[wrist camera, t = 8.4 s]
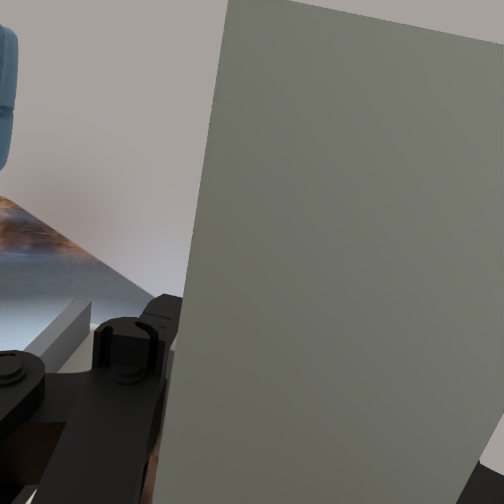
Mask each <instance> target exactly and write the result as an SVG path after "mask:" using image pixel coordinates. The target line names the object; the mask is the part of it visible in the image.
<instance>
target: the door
mask: <svg viewBox="0 0 504 504" xmlns="http://www.w3.org/2000/svg"><path fill="white" fill-rule="evenodd" d="M503 413H504V45H503V44H498V43H493V42H488V41H483V40H478V39H473V38H468V37H464V36H459V35H454V34H449V33H444V32H440V31H435V30H429V29H425V28H420V27H415V26H410V25H406V24H400V23H396V22H391V21H386V20H381V19H377V18H372V17H366V16H362V15H357V14H352V13H347V12H343V11H337V10H333V9H328V8H323V7H318V6H313V5H308V4H304V3H299V2H294V1H289V0H228V5H227V12H226V19H225V25H224V32H223V38H222V44H221V52H220V58H219V64H218V71H217V78H216V84H215V91H214V97H213V104H212V110H211V117H210V123H209V130H208V137H207V143H206V150H205V157H204V163H203V169H202V176H201V182H200V189H199V196H198V203H197V209H196V216H195V222H194V228H193V235H192V242H191V248H190V255H189V261H188V268H187V274H186V281H185V288H184V295H183V301H182V307H181V314H180V320H179V327H178V333H177V340H176V347H175V353H174V360H173V366H172V373H171V379H170V386H169V393H168V399H167V406H166V412H165V419H164V425H163V432H162V439H161V445H160V452H159V458H158V465H157V471H156V478H155V485H154V491H153V498H152V504H456V502H457V500H458V498H459V496H460V494H461V492H462V490H463V489H464V487H465V485H466V483H467V481H468V479H469V477H470V475H471V473H472V472H473V470H474V468H475V466H476V464H477V462H478V460H479V458H480V456H481V454H482V453H483V451H484V449H485V447H486V445H487V443H488V441H489V439H490V437H491V435H492V434H493V432H494V430H495V428H496V426H497V424H498V422H499V420H500V418H501V416H502V415H503Z"/></svg>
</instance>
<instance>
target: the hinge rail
mask: <svg viewBox="0 0 504 504" xmlns="http://www.w3.org/2000/svg"><path fill="white" fill-rule="evenodd" d="M91 302H92V301H87V300H83V299H78V298H76V299H75V300H74V301H73V302H72V303H71V304H70V305H69V306H68V307H67V308H66V309H65V310H64V311H63V312H62V313H61V314H60V315H59V316H58V317H57V318H56V319H55V320H54V321H53V322H52V323H51V324H50V325H49V326H48V327H47V328H46V329H45V330H44V331H43V332H42V333H41V334H40V335H39V336H38V337H37V338H36V339H34V340H33V341H32V342H31V343H30V344H29V345H28V346H27V347H26V348H25V349H24V350H23V351H25V352H30V353H32V354H34V355H36V356H38V357H40V359H41V360H42V361H43V363H44V364H45V373H77V372H84V371H88V370H91V367H92V352H93V337H94V331H95V330H96V328H97V327H98V326H99V324H94V323H90V318H91ZM36 490H37V489H36ZM35 492H36V491H35ZM35 492H34V493H33V495H32V496H31V497H30V498H29V500H28V501H27V502H26V504H30V503H31V501H32V498H33V496H34V494H35Z"/></svg>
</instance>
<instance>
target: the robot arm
mask: <svg viewBox="0 0 504 504" xmlns="http://www.w3.org/2000/svg"><path fill="white" fill-rule="evenodd" d="M17 71H18V39H17V36H16V34H15V33H14V32H13V31H12V30H11V29H9V28H6V27H4V26H2V25H1V24H0V171H1V170H2V169H3V167H4V166H5V164H6V162H7V158H8V153H9V149H10V142H11V134H12V127H13V110H14V104H15V97H16V87H17ZM182 301H183V298H181V297H177V296H172V295H168V294H162V295H161V296H158V297H157V298H155V299H153V300H151V301H150V302H149V303H148V305H147V306H146V308H145V309H144V311H143V313H142V314H141V315H140V317H139V318H138V317H120V318H115V319H110V320H108V321H106V322H104V323H102V324H100V325H99V326H98V327H97V328H96V330H95V331H94V337H93V352H92V367H91V370H88V371H84V372H77V373H45V364H44V363H43V361H42V360H41V359H40V357H38V356H36V355H34V354H32V353H30V352H25V351H18V350H9V351H0V504H26V502H27V501H28V500H29V498H30V497H31V496H32V495H33V493H34V492H35V491H36V492H35V494H34V496H33V498H32V501H31V503H30V504H141V502H142V497H143V492H144V487H145V482H146V478H147V472H148V465H149V458H150V455H151V453H152V450H153V448H154V445H155V451H154V456H158V457H159V452H160V445H161V439H162V432H163V425H164V419H165V412H166V406H167V399H168V393H169V386H170V379H171V373H172V366H173V360H174V353H175V347H176V340H177V333H178V327H179V320H180V314H181V307H182ZM155 443H156V444H155ZM36 489H37V490H36ZM456 504H504V475H501V474H499V473H497V472H495V471H493V470H491V469H489V468H487V467H485V466H484V465H482V464H480V461H479V460H478V462H477V464H476V466H475V468H474V470H473V472H472V473H471V475H470V477H469V479H468V481H467V483H466V485H465V487H464V489H463V490H462V492H461V494H460V496H459V498H458V500H457V502H456Z"/></svg>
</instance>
